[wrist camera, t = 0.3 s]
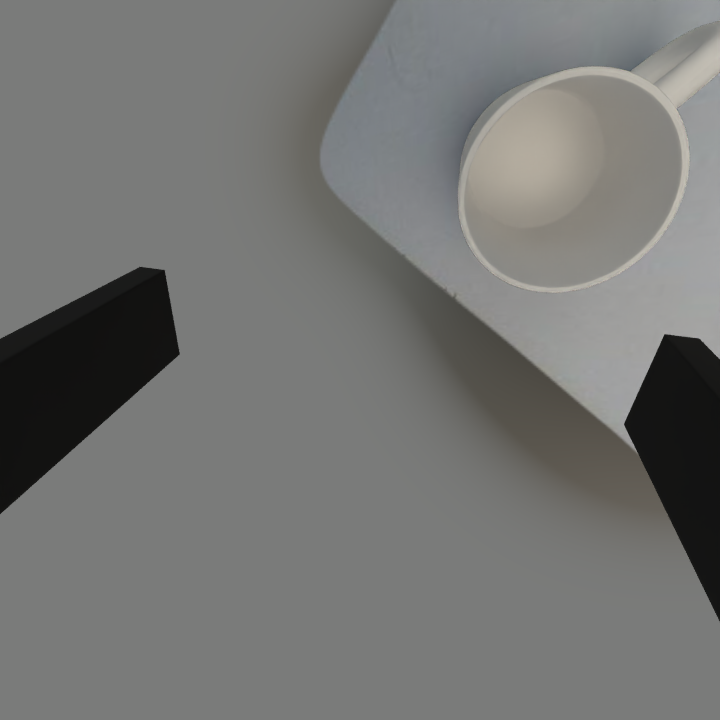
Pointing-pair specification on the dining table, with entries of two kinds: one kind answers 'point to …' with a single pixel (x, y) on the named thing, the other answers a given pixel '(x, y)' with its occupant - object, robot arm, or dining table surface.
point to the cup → (582, 167)
